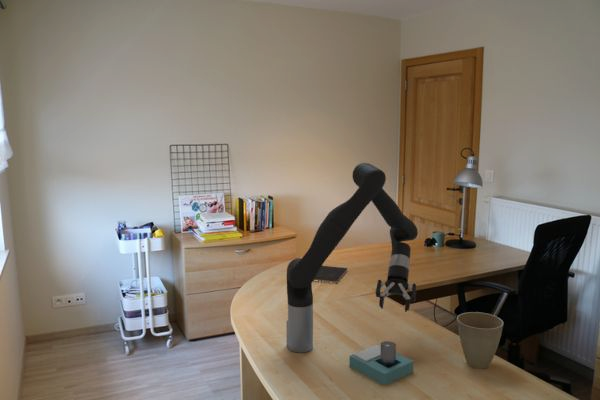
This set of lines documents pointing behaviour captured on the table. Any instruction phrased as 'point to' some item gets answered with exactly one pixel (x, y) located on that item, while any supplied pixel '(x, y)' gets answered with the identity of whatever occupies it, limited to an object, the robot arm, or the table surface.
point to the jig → (372, 368)
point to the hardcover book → (330, 274)
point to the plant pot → (479, 337)
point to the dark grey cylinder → (388, 354)
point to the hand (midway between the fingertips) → (393, 309)
